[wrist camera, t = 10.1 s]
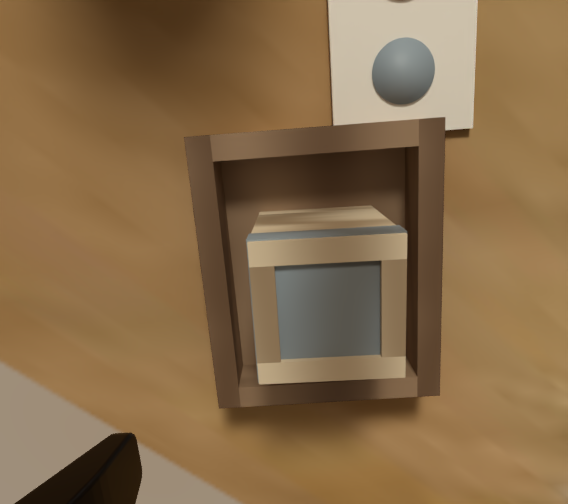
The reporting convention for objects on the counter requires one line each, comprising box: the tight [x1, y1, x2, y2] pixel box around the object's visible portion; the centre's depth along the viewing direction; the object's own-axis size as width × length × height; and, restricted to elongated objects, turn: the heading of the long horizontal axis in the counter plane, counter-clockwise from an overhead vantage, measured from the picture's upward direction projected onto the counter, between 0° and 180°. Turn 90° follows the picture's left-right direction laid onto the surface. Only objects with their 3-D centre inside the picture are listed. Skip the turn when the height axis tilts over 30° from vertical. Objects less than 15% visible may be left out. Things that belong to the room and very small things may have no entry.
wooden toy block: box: [246, 206, 407, 384], centre depth 17 cm, size 5×5×6 cm
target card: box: [327, 0, 478, 130], centre depth 18 cm, size 6×9×1 cm, turn 4°
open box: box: [184, 117, 445, 408], centre depth 19 cm, size 10×12×3 cm
